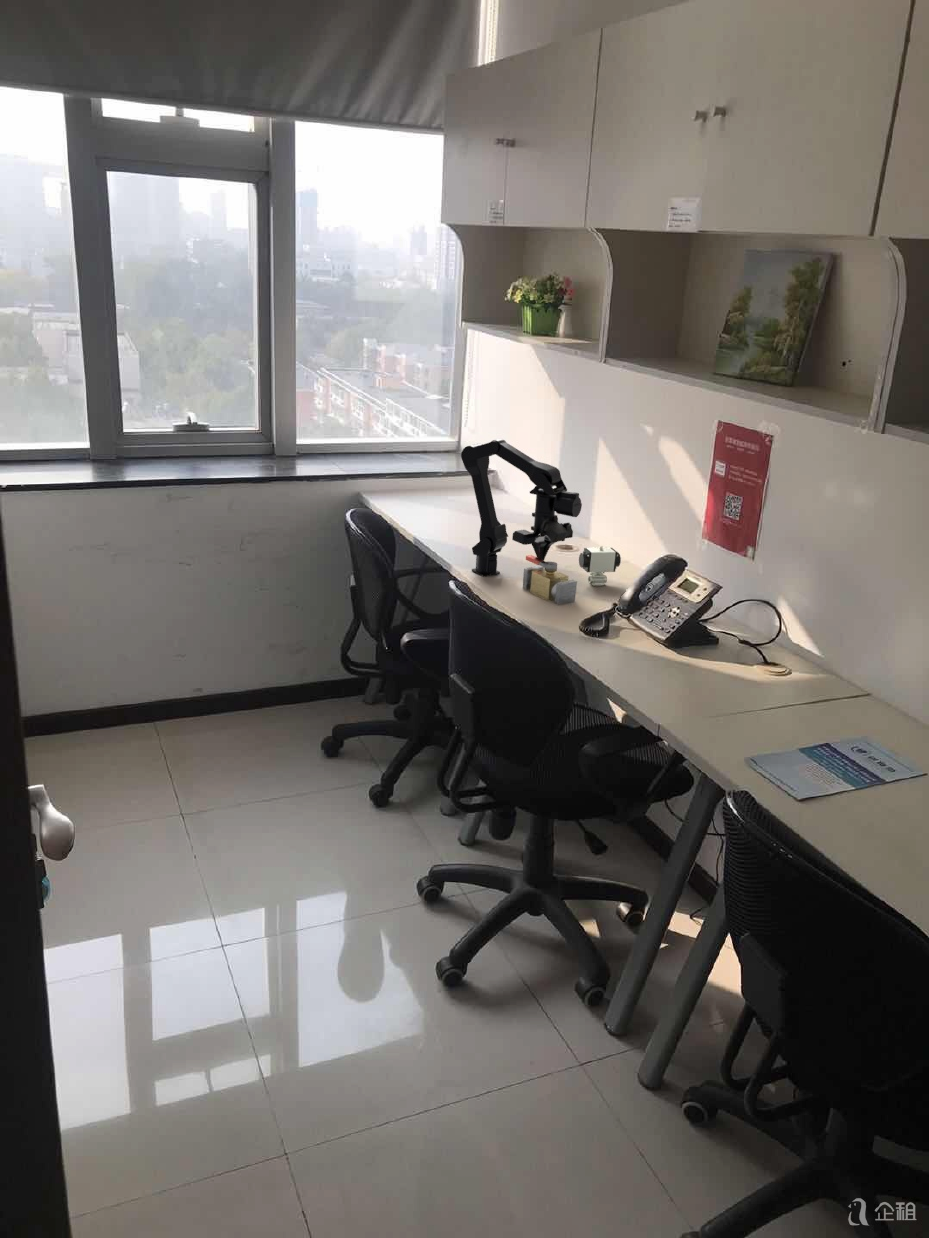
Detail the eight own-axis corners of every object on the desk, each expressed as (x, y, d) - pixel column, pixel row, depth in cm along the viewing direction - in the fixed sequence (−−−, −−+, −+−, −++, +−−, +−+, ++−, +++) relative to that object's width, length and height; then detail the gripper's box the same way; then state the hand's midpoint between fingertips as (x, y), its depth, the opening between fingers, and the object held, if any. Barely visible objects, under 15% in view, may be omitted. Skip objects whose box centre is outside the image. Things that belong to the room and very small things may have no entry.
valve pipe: (521, 588, 288) (523, 564, 286) (539, 585, 292) (541, 561, 290) (557, 605, 276) (559, 580, 274) (575, 601, 280) (578, 577, 278)
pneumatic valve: (617, 586, 295) (622, 548, 291) (581, 587, 293) (585, 549, 288) (611, 580, 300) (615, 543, 296) (575, 581, 298) (579, 543, 293)
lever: (559, 571, 281) (560, 564, 281) (549, 572, 279) (550, 566, 279) (532, 559, 290) (533, 553, 290) (523, 561, 288) (523, 554, 288)
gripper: (537, 521, 272) (533, 574, 278) (587, 514, 283) (582, 565, 288) (513, 511, 281) (509, 563, 286) (562, 505, 291) (558, 555, 296)
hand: (540, 562), depth 289 cm, fingers closed
